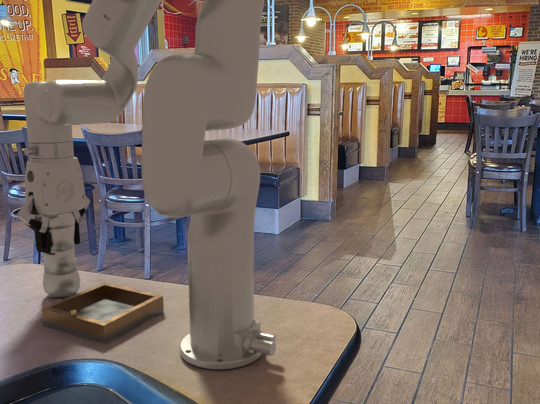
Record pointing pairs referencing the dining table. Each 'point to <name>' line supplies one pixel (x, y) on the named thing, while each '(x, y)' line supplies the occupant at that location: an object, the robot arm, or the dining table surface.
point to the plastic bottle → (61, 258)
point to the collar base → (102, 312)
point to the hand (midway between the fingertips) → (59, 246)
